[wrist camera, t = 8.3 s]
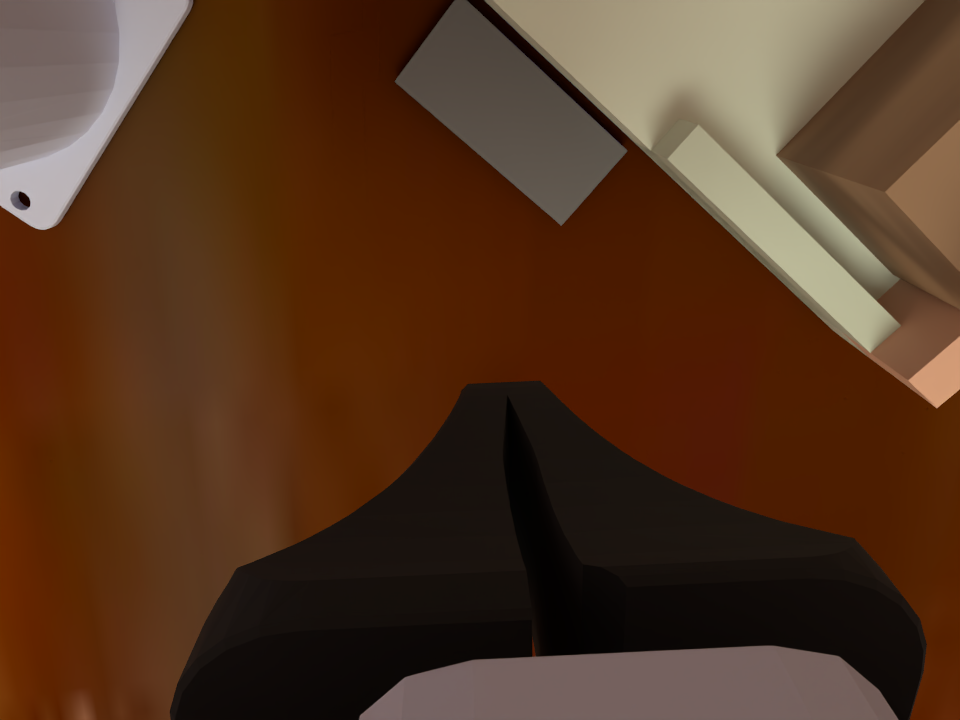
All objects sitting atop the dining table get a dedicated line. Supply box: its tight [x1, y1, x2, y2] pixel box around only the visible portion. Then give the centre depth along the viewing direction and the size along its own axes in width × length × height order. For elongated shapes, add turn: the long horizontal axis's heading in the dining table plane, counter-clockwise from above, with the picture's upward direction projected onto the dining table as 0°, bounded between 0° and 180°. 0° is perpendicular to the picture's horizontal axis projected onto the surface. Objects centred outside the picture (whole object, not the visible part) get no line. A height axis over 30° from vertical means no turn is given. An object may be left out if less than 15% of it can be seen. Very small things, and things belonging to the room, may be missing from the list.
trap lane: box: [484, 0, 960, 408], centre depth 16 cm, size 17×9×5 cm, turn 50°
